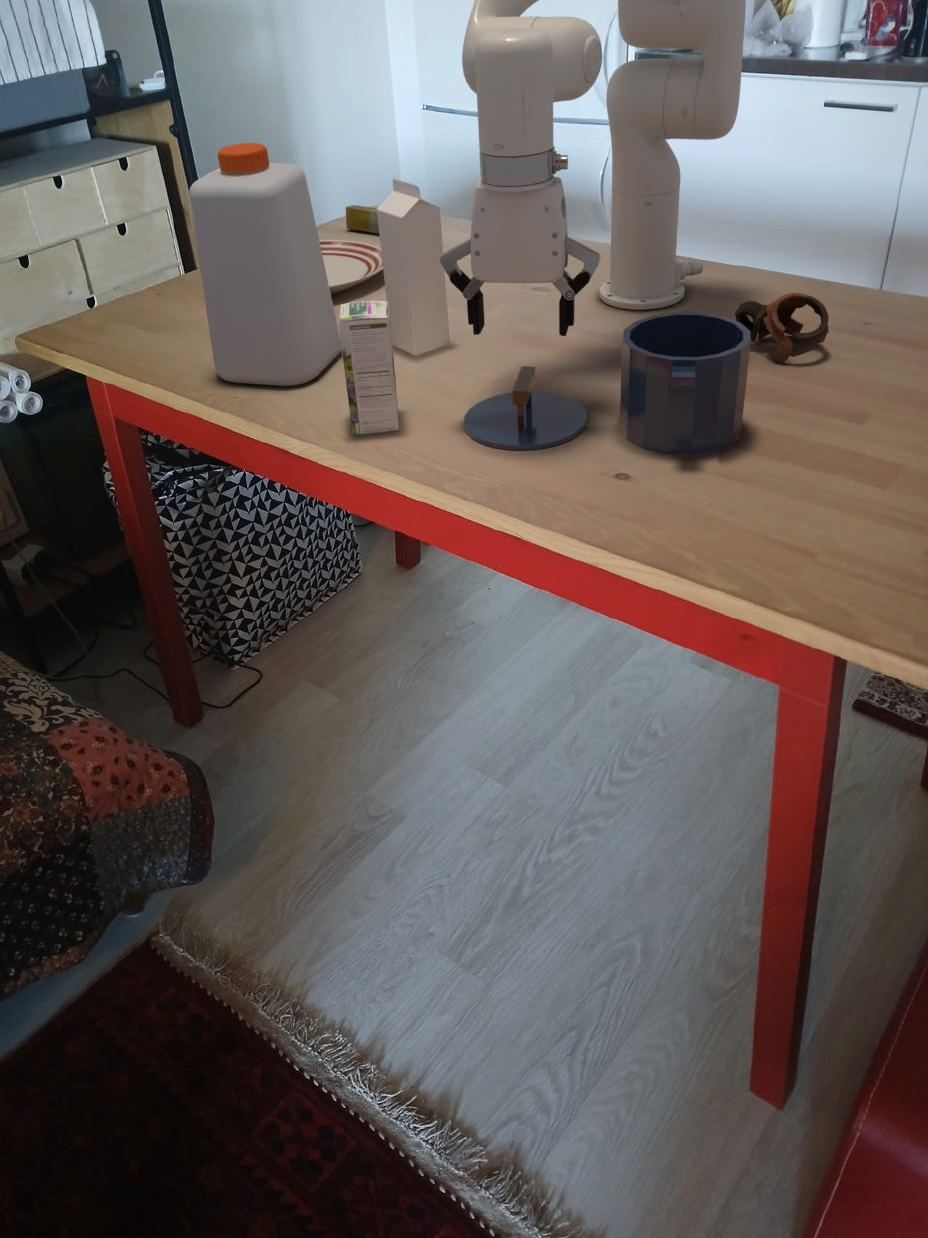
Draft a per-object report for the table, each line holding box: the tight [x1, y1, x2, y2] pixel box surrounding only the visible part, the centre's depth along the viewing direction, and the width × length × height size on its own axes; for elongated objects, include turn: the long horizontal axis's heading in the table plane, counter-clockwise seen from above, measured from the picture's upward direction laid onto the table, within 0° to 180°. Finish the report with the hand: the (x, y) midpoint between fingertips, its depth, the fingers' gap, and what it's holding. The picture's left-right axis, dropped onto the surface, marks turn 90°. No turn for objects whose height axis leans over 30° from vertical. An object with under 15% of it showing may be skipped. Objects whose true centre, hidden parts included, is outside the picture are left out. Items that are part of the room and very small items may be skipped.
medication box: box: [345, 204, 380, 235], centre depth 188 cm, size 12×3×4 cm, turn 56°
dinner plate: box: [319, 239, 383, 295], centre depth 168 cm, size 28×27×3 cm
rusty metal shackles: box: [733, 292, 830, 364], centre depth 133 cm, size 12×10×8 cm
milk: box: [376, 178, 451, 357], centre depth 137 cm, size 6×6×22 cm
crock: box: [619, 309, 752, 456], centre depth 115 cm, size 14×19×12 cm
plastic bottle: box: [189, 142, 342, 387], centre depth 133 cm, size 15×15×28 cm
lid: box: [463, 366, 588, 451], centre depth 120 cm, size 15×15×6 cm
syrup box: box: [338, 300, 400, 436], centre depth 120 cm, size 6×6×14 cm
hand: (521, 330), depth 115 cm, fingers open, 9 cm apart
